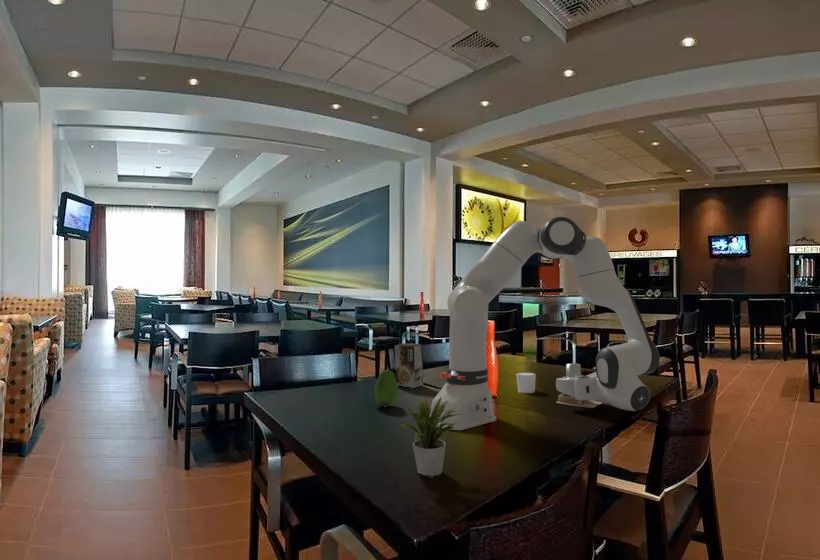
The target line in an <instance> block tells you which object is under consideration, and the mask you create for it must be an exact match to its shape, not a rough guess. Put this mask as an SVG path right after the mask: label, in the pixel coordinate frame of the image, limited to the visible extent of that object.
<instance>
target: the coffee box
mask: <svg viewBox="0 0 820 560" xmlns="http://www.w3.org/2000/svg"><path fill="white" fill-rule="evenodd" d="M423 360H424V359H423V344H420V343H406V342H405V343H403V342H402V343H398V344H396V345H394V361H395V362H394V364H395V365H394V367H395V369H394V371H395V373H394V375H395V378H396V381H397V384H398V385H403V386H409V387H414V388H416V387H419V386H422V385H423V386H424V376H423V375H424V372H423V371H424V368H423V366H424V365H423ZM423 386H422V387H423ZM419 388H420V387H419ZM416 389H417V388H416Z"/></svg>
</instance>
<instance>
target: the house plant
mask: <svg viewBox="0 0 820 560" xmlns="http://www.w3.org/2000/svg"><path fill="white" fill-rule="evenodd" d="M448 401H449V400H448ZM448 401H446V402H444V403H443V404H442V405H441V406H440V407H439V404H440V402H441V398H440V399H439V400H438V402H437V404H436V405H435V407H434V409H433V411H432V413H431V410H430V407H429V404H428V400H427V396H424V403H423V400H422V399H420V398H418V405H416V407H418V410H419V412H418V411H417V412H416V411H414V410H413V409H412V408H410V407H409V406H407V405H405V408H406V409H407V410H408V411H409V412H408V411H406V413H408V414H409V415H410V417H412V419H413V421H415V423H416V425H417V427H418V429H419V430H420V432H421V433H420V432H419V430H418V429H417V428H416V427H415V426H413V425H411V424H410V423H402V424H400V426H401V427H405V428H408V429H411V430H413V431H414V435H415V436H414V441H413V442H412V448H413V453H414V459H415V465H416V469H417V474H418V473H420V474H423V475H431V476H434V475H438V474H441V475H442V473H443V466H444V459H445V453H446V445H447V444H446V442H445V441H444V440H442V439H440V438H441V437H443V435H444V434H447V435H449V436H450V437H451V438H453V434H452V432H451V431H450V429H454V427H455V426H454V425H453V424H456V423H452V424H449V423H444V424H442V423H443V421H444V420H445V419H446V418H449V417H452V416H455V415H460V414H453V415H450V414H451V413H453V412H457V411H452V410H454V409H456V408H460V407H456V408H453V409H451V410H449V411H446V413H445V414H444V415H443V416H442V417H441V418H440V416H441V414H442V413H443V411H444V407H445V405H446V404H447V402H448ZM461 407H464V406H461ZM438 408H439V409H438ZM451 411H452V412H451ZM444 412H445V411H444ZM449 412H450V413H449ZM447 413H448V414H447ZM430 414H431V416H430ZM446 414H447V415H446ZM445 415H446V416H445ZM441 421H442V422H441ZM440 422H441V424H440V425H439V427H437V425H438V424H439V423H440ZM445 425H449V426H448V427H445V428H442V427H443V426H445ZM452 425H453V426H454V427H452ZM455 429H456V428H455ZM441 472H442V473H441Z"/></svg>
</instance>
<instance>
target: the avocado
mask: <svg viewBox="0 0 820 560" xmlns="http://www.w3.org/2000/svg"><path fill="white" fill-rule="evenodd" d="M373 395H374V400H375V402H376V404H377V405H378V406H380V407H381V406H390V407H392V406H394V404H395V403H396V401H397V400H398V397H399V387H398V385H397V381H396V374H395V373H394V372H393V370H392V371H391V370H389V369H384V370H382V371H381V373H380V374H379V375H378V378H377V380H376V383H375V386H374V389H373Z"/></svg>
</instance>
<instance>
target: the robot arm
mask: <svg viewBox="0 0 820 560" xmlns="http://www.w3.org/2000/svg"><path fill="white" fill-rule="evenodd" d="M533 255H536V256H540V257H542V258H544V259H547V260H556V261H557V260H560V259H563V258H564V259H566V260H567V261H568V262H569V263H570V265H571V267H572V268H573V274H574V278H575V283H576V287H577V290H578V292H579V294H580V296H581V297H582V299H584V300H585V301H586V302H588V303H590V304H593V305H596V306H600V307H606V308H608V309H610V310H612V311H614V312H615V313H616V314H617V316H618V317H619V320H620V323H621V324H622V327H623V330H624V332H625V335H626V337H627V342H625V343H624V342H623V343H621V344H616V345H611V346H607V347H602V348H601V349H600V350H599V351H598V352H597V354H596V357H595V365H594V368H595V371H596V372H594V373H592V374H589V375H587V376H583V375H581V376H576V377H566V376H562V377H557V378H556V380H555V387H556V388H555V389H556V391H558V392H559V393H561V394H563V393H564V394H567V395H570V396H575V399H577V400H591V401H596V402H601V404H605V405H611V406H612V407H614V408H617V409H621V410H624V411H629V412H638V411H640V410H642V409H644V408H645V407H646V406H647V405H648V404H649V402H650V399H651V390H650V389H649V387H648V386H647V385H645V384H644V383H643V381H641V380H640V378H639V376H643V375H650V374H651V375H652V374H653V373H655V371H656V370H657V369H658V367H659V364H660V358H661V357H660V353H659V350H658V348H657V346H656V344H655V343H654V341H653V340H652V338H651V337H650V334H649V331H648V330H647V327H646V324H645V323H644V322H645V321H644V320H643V318H642V315H641V313H640V311H639V308H638V306H637V304H636V301H635V299H634V296H633V295H632V293H631V292H630V290H628V289H627V288H626V287H624V285H622V283H621V281H620V279H619V278H618V276H617V274H616V271H615V266H614V263H613V259H612V257H611V255H610V252H609V249H608V248H607V246H606V243H605V241H604V240H603V239H602V238H600V237H597V236H587V235H586V233H585V232H584V231H583V230H582V229H581V228H580V227H579V226H578V224H576V222H574V221H573V220H572V219H570V218H568V217H565V216H556V217H553V218H550V219H549V220H547V221H546V222H545V223H543V225H542V226H539V227H537V226H534V225H533V224H532V223H529V222H528V221H526V220H525V221H524V220H517V221H515V222H513V223H512V224H511V225H510V226H508V227H507V228H506V229H505V230H504V231H503V232H502V233H501V234H500V235H499V236H498V237H497V238H496V239H495V240H494V242H493V243H492V244H491V245H490V246H489V247H488V249H487V250H486V251H485V253H484V254H483V255H482V257H480V259H479V260H478V261H477V263H476V264H475V265H474V266H472V268H471V269H470V270H469V271H468V273H466V275H464V277H463V278H462V279H461V280H460V281H459V282H458V284H457V285H456V286H455V287H454V288H453V289H452V290H451V292H450V293H449V295H448V298H447V308H448V311H449V336H448V337H449V339H448V353H449V354H448V356H449V357H448V360H449V361H448V363H449V364H448V366H449V367H448V368H447V372H445V371H441V374H440V378H441V380H445V383H444V385H443V386H442V387H441V389H440V390H439V391H438V393H437V394H436V396H435V397H434V398H433V399H432V402H431V408H430V416H431V413H432V411H433V409H434V407H435V405H436V404H437V402H438V400H439V399H440V398H441V402H440V404H439V407H440V406H441V405H442V404H443V403H444V402H446V401H448V400H449V401H448V402H447V404H446V405H445V407H444V411H445V412H444V411H443V413H442V414H441V416H440V418H441V417H442V416H443V415H444V414H445V413H446V411H449V410H451V409H453V408H456V407H460V408H456V409H454V410H452V411H457V412H453V413H451V414H450V415H453V414H460V415H455V416H452V417H449V418H446V419H445V420H444V421H443V423H442V424H444V423H449V424H452V423H456V424H453V425H454V426H455V427H454V426H453V425H452V427H454V429H449V431H450V430H452V431H463V430H467V429H470V428H475V427H478V426H482V425H485V424H488V423H492V422H496V421H497V415H495V414H494V407H493V397H492V391H491V389H490V387H489V386H488V381H489V371H488V368H487V335H488V322H489V321H488V320H489V304H490V302H492V300H493V299H494V298H496V296H497V295H498V294H499V293H500V292H501V291H502V290H503V289H504V288H506V286H507V285H508V284H509V283H510V282H511V281H512V279H514V277H515V275H517V273H518V272H519V271H520V270H521V268H522V267H523V266H524V265H525V264H526V262H527V261H528V259H530V258H531V256H533ZM461 406H464V407H461ZM438 409H439V408H438ZM452 411H451V412H452ZM449 413H450V412H449ZM447 414H448V413H447ZM447 414H446V415H447ZM446 415H445V416H446ZM441 422H442V421H441ZM441 422H440V423H439V424H438V425H437V427H436V428H438V427H439V425H440V424H441ZM448 426H449V425H445V426H443V427H442V428H441V429H443V428H445V427H448ZM455 428H456V429H455Z"/></svg>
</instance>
